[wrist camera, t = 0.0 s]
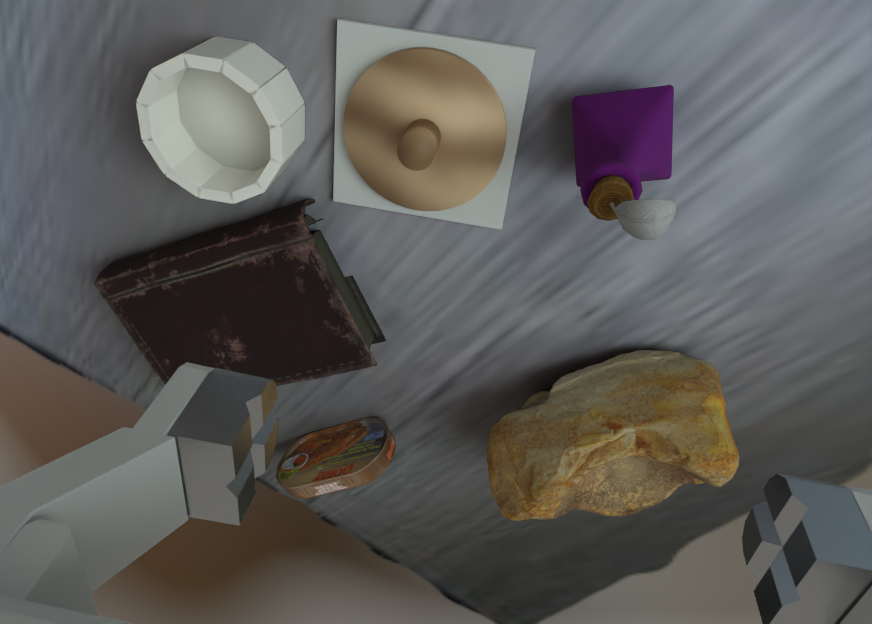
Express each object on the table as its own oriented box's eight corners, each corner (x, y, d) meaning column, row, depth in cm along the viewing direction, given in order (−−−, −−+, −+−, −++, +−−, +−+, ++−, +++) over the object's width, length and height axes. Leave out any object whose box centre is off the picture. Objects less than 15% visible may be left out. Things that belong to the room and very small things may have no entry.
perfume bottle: (575, 172, 58) (582, 278, 43) (571, 85, 54) (576, 169, 39) (665, 163, 56) (704, 270, 42) (667, 73, 52) (711, 156, 38)
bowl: (164, 28, 56) (127, 44, 51) (304, 50, 55) (280, 68, 50) (180, 163, 63) (149, 189, 58) (305, 184, 62) (283, 212, 57)
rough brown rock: (522, 470, 81) (525, 586, 69) (479, 374, 71) (473, 489, 60) (724, 437, 74) (765, 558, 62) (705, 326, 65) (749, 445, 53)
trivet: (339, 18, 54) (337, 19, 53) (535, 48, 53) (535, 49, 52) (334, 198, 63) (333, 201, 62) (502, 226, 62) (501, 229, 61)
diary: (114, 256, 72) (87, 279, 67) (314, 190, 64) (297, 212, 59) (204, 386, 80) (185, 414, 76) (390, 343, 72) (379, 372, 68)
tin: (393, 410, 77) (377, 463, 70) (405, 429, 79) (391, 483, 72) (288, 437, 82) (263, 490, 76) (301, 454, 84) (278, 507, 77)
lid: (349, 34, 54) (332, 49, 50) (520, 60, 53) (517, 77, 49) (343, 193, 62) (328, 216, 58) (492, 218, 61) (488, 243, 57)
